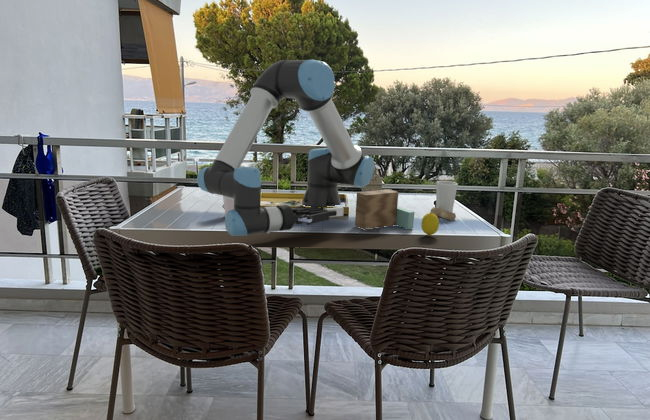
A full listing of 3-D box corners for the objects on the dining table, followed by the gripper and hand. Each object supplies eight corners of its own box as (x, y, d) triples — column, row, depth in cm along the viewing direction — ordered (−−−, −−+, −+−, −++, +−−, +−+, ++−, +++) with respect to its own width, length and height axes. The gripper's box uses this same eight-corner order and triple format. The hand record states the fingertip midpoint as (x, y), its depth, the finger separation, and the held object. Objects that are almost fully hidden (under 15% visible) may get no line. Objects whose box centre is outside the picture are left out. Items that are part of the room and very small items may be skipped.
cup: (454, 216, 189) (458, 185, 186) (433, 214, 190) (436, 183, 187) (453, 211, 196) (457, 181, 193) (433, 210, 198) (436, 180, 195)
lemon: (418, 233, 164) (420, 210, 162) (434, 233, 164) (437, 210, 162) (423, 238, 158) (425, 214, 156) (439, 238, 159) (442, 214, 157)
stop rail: (407, 229, 168) (408, 212, 166) (378, 218, 181) (379, 202, 179) (413, 228, 169) (414, 211, 167) (383, 217, 182) (384, 201, 180)
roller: (452, 222, 183) (456, 216, 184) (448, 217, 182) (453, 211, 182) (432, 216, 191) (437, 210, 192) (429, 211, 190) (433, 205, 190)
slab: (363, 230, 165) (366, 195, 162) (354, 226, 169) (356, 192, 166) (395, 225, 172) (398, 192, 169) (386, 222, 176) (388, 189, 173)
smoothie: (243, 215, 176) (243, 176, 173) (234, 220, 170) (234, 179, 167) (227, 213, 178) (227, 175, 175) (218, 217, 172) (217, 177, 169)
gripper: (267, 225, 154) (330, 217, 167) (287, 236, 144) (353, 227, 156) (267, 201, 153) (331, 195, 165) (288, 211, 142) (354, 204, 155)
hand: (342, 211), depth 161 cm, fingers closed
